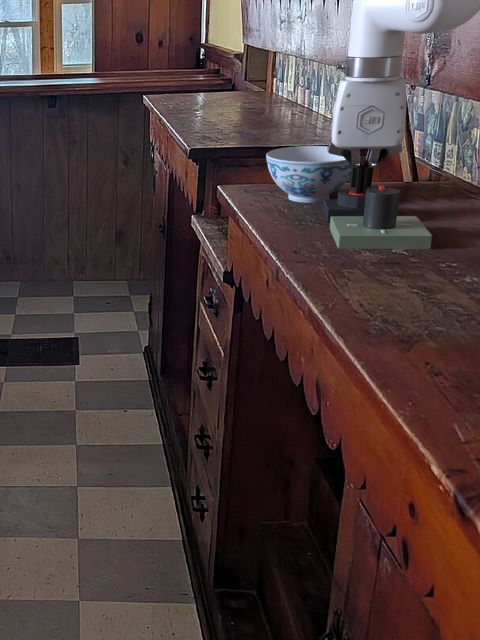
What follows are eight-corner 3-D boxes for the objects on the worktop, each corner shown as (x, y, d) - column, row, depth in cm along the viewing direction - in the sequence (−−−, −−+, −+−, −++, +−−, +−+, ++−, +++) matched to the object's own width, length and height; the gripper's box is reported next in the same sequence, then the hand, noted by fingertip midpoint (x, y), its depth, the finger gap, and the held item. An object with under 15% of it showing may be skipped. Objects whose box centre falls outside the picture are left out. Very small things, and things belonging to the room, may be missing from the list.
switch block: (388, 212, 139) (391, 187, 137) (396, 223, 133) (399, 197, 131) (322, 212, 141) (324, 188, 140) (327, 223, 135) (329, 197, 133)
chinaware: (312, 213, 141) (316, 165, 138) (245, 198, 153) (247, 154, 150) (373, 198, 148) (379, 152, 145) (304, 185, 160) (308, 143, 157)
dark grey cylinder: (398, 229, 122) (402, 191, 120) (365, 229, 123) (369, 192, 121) (392, 221, 126) (397, 185, 124) (360, 221, 127) (364, 185, 125)
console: (414, 229, 129) (416, 215, 128) (430, 249, 119) (432, 234, 118) (329, 229, 132) (330, 215, 131) (338, 249, 122) (339, 234, 121)
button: (370, 199, 137) (371, 189, 136) (373, 205, 134) (375, 194, 133) (346, 200, 138) (347, 189, 137) (349, 205, 135) (350, 194, 134)
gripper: (322, 73, 126) (311, 197, 134) (433, 69, 123) (415, 197, 130) (317, 68, 133) (307, 186, 140) (422, 64, 130) (406, 186, 137)
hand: (359, 191), depth 135 cm, fingers closed
